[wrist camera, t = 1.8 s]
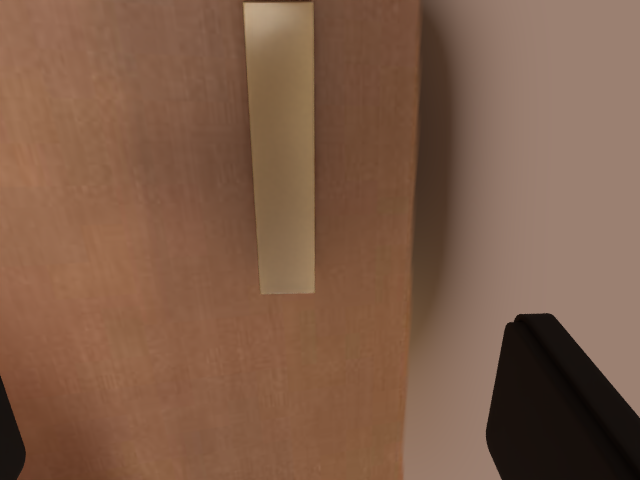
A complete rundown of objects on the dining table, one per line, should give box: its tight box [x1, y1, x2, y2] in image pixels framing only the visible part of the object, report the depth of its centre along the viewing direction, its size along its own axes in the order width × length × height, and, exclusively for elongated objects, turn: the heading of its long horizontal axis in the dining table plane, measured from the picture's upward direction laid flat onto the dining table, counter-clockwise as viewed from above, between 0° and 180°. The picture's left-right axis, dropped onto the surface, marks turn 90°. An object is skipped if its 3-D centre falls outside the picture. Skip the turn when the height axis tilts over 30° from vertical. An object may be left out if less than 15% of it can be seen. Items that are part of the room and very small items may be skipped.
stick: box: [242, 1, 315, 294], centre depth 21 cm, size 2×12×2 cm, turn 0°
